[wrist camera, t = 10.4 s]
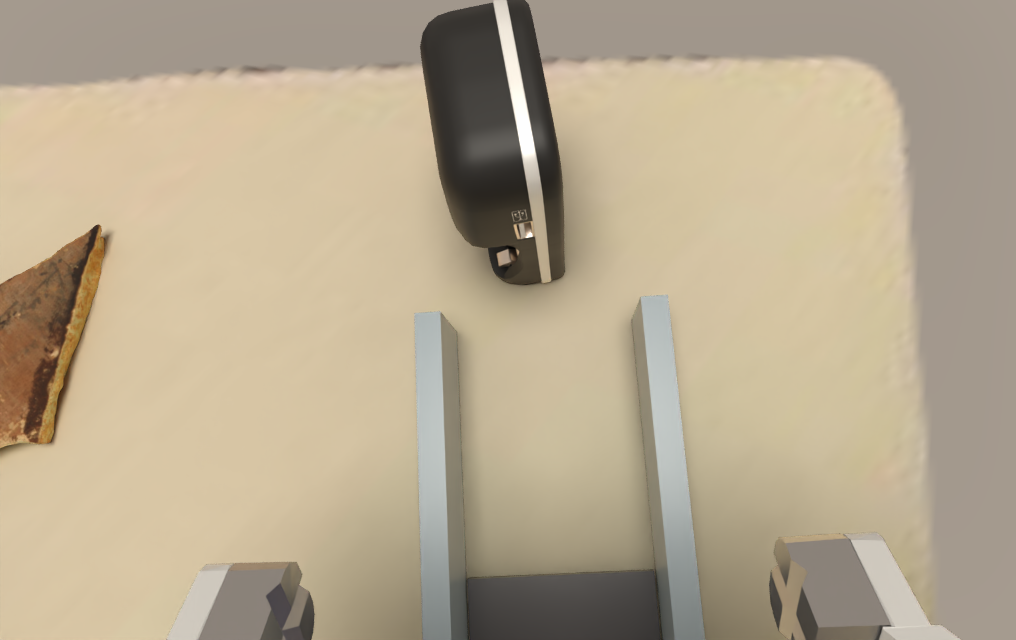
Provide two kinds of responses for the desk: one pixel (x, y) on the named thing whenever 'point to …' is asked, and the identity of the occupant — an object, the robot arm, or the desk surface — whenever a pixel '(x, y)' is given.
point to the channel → (567, 596)
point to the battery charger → (496, 137)
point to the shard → (43, 335)
